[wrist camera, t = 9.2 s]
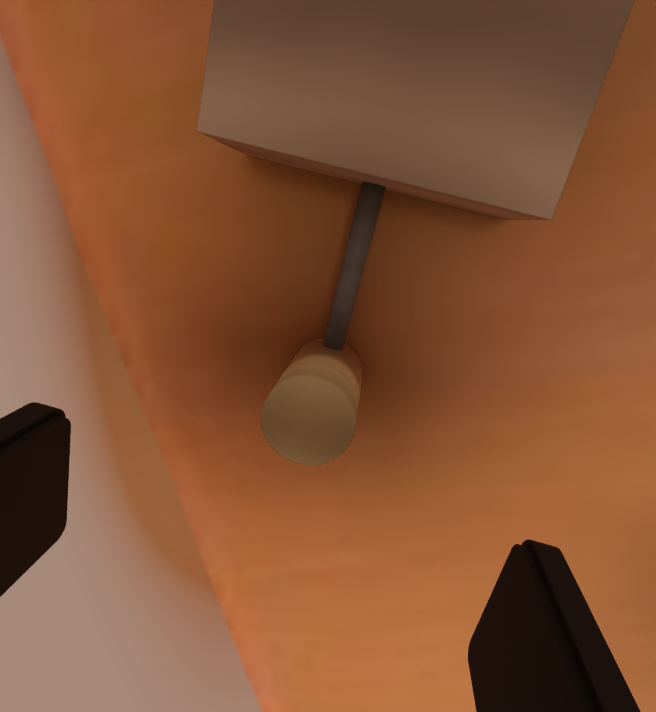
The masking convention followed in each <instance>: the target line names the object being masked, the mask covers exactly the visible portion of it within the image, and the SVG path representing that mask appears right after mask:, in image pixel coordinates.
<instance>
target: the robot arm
mask: <svg viewBox="0 0 656 712" xmlns="http://www.w3.org/2000/svg"><path fill="white" fill-rule="evenodd" d="M70 433H71V423H70V421H69V419H67V418H65V414H64V411H62V410H61V409H57V408H54V407H50V406H47V405H43V404H40V403H30V404H27V405H25V406H23V407H22V408H20V409H18V410H16V411H14V412H12V413H10V414H8V415H7V416H5V417H3V418H1V419H0V596H2V595H3V594H4V593H5V592H6V591H7V590H8V589H9V587H10V586H12V585H13V584H14V583H15V582H16V581H17V580H18V579H19V578H20V576H22V575H23V574H24V573H25V572H26V571H27V570H28V569H29V568H30V567H31V566H32V565H33V564H34V563H35V562H36V561H37V560H38V559H39V558H40V557H41V556H42V555H43V554H44V553H45V552H46V551H47V550H48V549H49V548H50V547H51V546H52V545H53V544H54V543H55V542H56V541H57V540H58V539H59V538H60V536H61V535H62V533H63V531H64V529H65V526H66V521H67V498H68V477H69V455H70ZM468 663H469V669H470V675H471V681H472V687H473V693H474V699H475V705H476V711H477V712H640V710H639V708H638V706H637V704H636V702H635V700H634V698H633V696H632V694H631V692H630V690H629V688H628V686H627V683H626V681H625V679H624V677H623V675H622V673H621V671H620V669H619V667H618V665H617V663H616V661H615V659H614V657H613V655H612V653H611V651H610V649H609V647H608V645H607V643H606V641H605V639H604V637H603V635H602V633H601V631H600V629H599V627H598V625H597V623H596V621H595V619H594V617H593V615H592V613H591V611H590V609H589V606H588V604H587V602H586V600H585V598H584V596H583V594H582V592H581V590H580V588H579V586H578V584H577V582H576V580H575V578H574V576H573V574H572V572H571V570H570V568H569V566H568V564H567V562H566V560H565V558H564V556H563V554H562V552H561V551H560V549H559V548H557V547H554V546H551V545H547V544H543V543H540V542H536V541H533V540H525V541H524V542H523V544H522V545H519V544H515V545H514V546H513V548H512V549H511V551H510V554H509V556H508V558H507V560H506V562H505V565H504V567H503V569H502V571H501V574H500V576H499V578H498V580H497V583H496V585H495V587H494V589H493V591H492V594H491V596H490V598H489V600H488V603H487V605H486V607H485V609H484V611H483V614H482V616H481V618H480V620H479V623H478V625H477V627H476V629H475V631H474V634H473V636H472V638H471V641H470V644H469V650H468Z"/></svg>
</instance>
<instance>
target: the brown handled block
mask: <svg viewBox="0 0 656 712" xmlns="http://www.w3.org/2000/svg"><path fill="white" fill-rule="evenodd" d="M633 3H634V0H215V1H214V8H213V15H212V22H211V30H210V37H209V44H208V51H207V59H206V66H205V73H204V80H203V88H202V95H201V102H200V109H199V117H198V124H197V132H199V133H201V134H204V135H206V136H208V137H210V138H212V139H214V140H216V141H218V142H221V143H223V144H225V145H227V146H229V147H231V148H233V149H235V150H238V151H240V152H242V153H244V154H246V155H250V156H253V157H257V158H261V159H265V160H269V161H273V162H277V163H281V164H285V165H289V166H293V167H297V168H301V169H305V170H309V171H313V172H317V173H321V174H325V175H329V176H333V177H337V178H341V179H345V180H349V181H353V182H357V183H361V184H362V187H361V191H360V195H359V199H358V203H357V207H356V211H355V215H354V219H353V223H352V227H351V231H350V235H349V239H348V243H347V247H346V251H345V255H344V259H343V263H342V267H341V271H340V275H339V280H338V284H337V288H336V292H335V296H334V300H333V304H332V308H331V312H330V316H329V320H328V324H327V328H326V332H325V336H324V338H318V339H314V340H312V341H310V342H308V343H306V344H305V345H304V346H302V347H301V348H300V350H299V351H298V352H297V354H296V355H295V356H294V358H293V359H292V361H291V362H290V364H289V365H288V367H287V368H286V370H285V371H284V373H283V374H282V376H281V377H280V379H279V380H278V382H277V383H276V384H275V386H274V387H273V389H272V390H271V392H270V393H269V395H268V396H267V398H266V400H265V402H264V404H263V407H262V411H261V425H262V430H263V433H264V435H265V438H266V439H267V441H268V443H269V444H270V445H271V447H272V448H273V449H274V450H275V451H276V452H277V453H279V454H280V455H281V456H283V457H284V458H286V459H288V460H290V461H292V462H295V463H299V464H303V465H319V464H323V463H327V462H329V461H332V460H334V459H335V458H337V457H338V456H340V455H341V454H342V453H343V452H344V451H345V450H346V449H347V447H348V446H349V444H350V443H351V441H352V438H353V435H354V431H355V425H356V418H357V412H358V405H359V398H360V392H361V385H362V379H363V367H362V363H361V360H360V358H359V356H358V355H357V353H356V352H355V351H354V350H353V348H351V347H350V346H349V345H348V344H346V343H345V338H346V334H347V330H348V327H349V323H350V319H351V315H352V311H353V308H354V304H355V300H356V296H357V292H358V289H359V285H360V281H361V277H362V274H363V270H364V266H365V262H366V258H367V255H368V251H369V247H370V243H371V239H372V236H373V232H374V228H375V224H376V220H377V217H378V213H379V209H380V205H381V201H382V198H383V194H384V190H389V191H393V192H397V193H401V194H405V195H409V196H413V197H417V198H421V199H425V200H429V201H433V202H436V203H440V204H444V205H448V206H452V207H456V208H460V209H464V210H468V211H472V212H476V213H480V214H484V215H488V216H492V217H496V218H500V219H504V220H552V217H553V214H554V212H555V209H556V206H557V204H558V201H559V199H560V196H561V193H562V191H563V188H564V185H565V183H566V180H567V177H568V175H569V172H570V169H571V167H572V164H573V161H574V159H575V156H576V154H577V151H578V148H579V146H580V143H581V140H582V138H583V135H584V132H585V130H586V127H587V124H588V122H589V119H590V117H591V114H592V111H593V109H594V106H595V103H596V101H597V98H598V95H599V93H600V90H601V87H602V85H603V82H604V79H605V77H606V74H607V72H608V69H609V66H610V64H611V61H612V58H613V56H614V53H615V50H616V48H617V45H618V42H619V40H620V37H621V34H622V32H623V29H624V27H625V24H626V21H627V19H628V16H629V13H630V11H631V8H632V5H633Z"/></svg>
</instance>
